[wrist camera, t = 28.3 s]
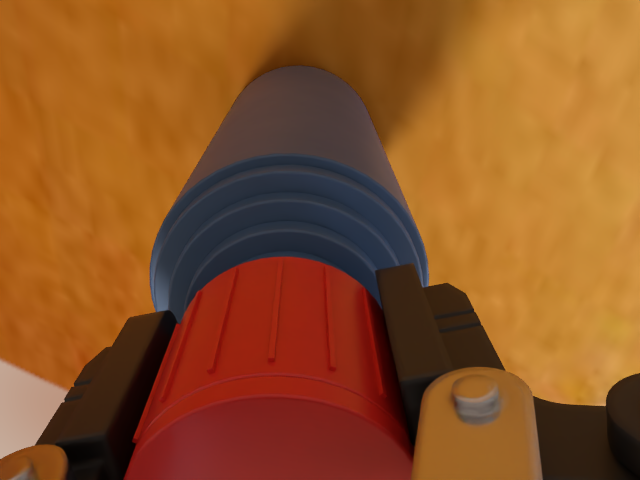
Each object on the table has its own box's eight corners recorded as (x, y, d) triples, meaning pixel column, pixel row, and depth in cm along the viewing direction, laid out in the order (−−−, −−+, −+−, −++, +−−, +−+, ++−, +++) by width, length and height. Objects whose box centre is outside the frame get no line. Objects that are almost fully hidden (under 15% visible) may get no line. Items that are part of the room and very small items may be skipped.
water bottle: (357, 49, 24) (476, 232, 7) (384, 194, 26) (520, 592, 9) (206, 84, 24) (-33, 336, 7) (247, 223, 27) (138, 653, 10)
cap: (210, 451, 12) (172, 642, 9) (146, 278, 10) (67, 426, 7) (408, 417, 12) (449, 599, 8) (373, 233, 10) (406, 364, 7)
